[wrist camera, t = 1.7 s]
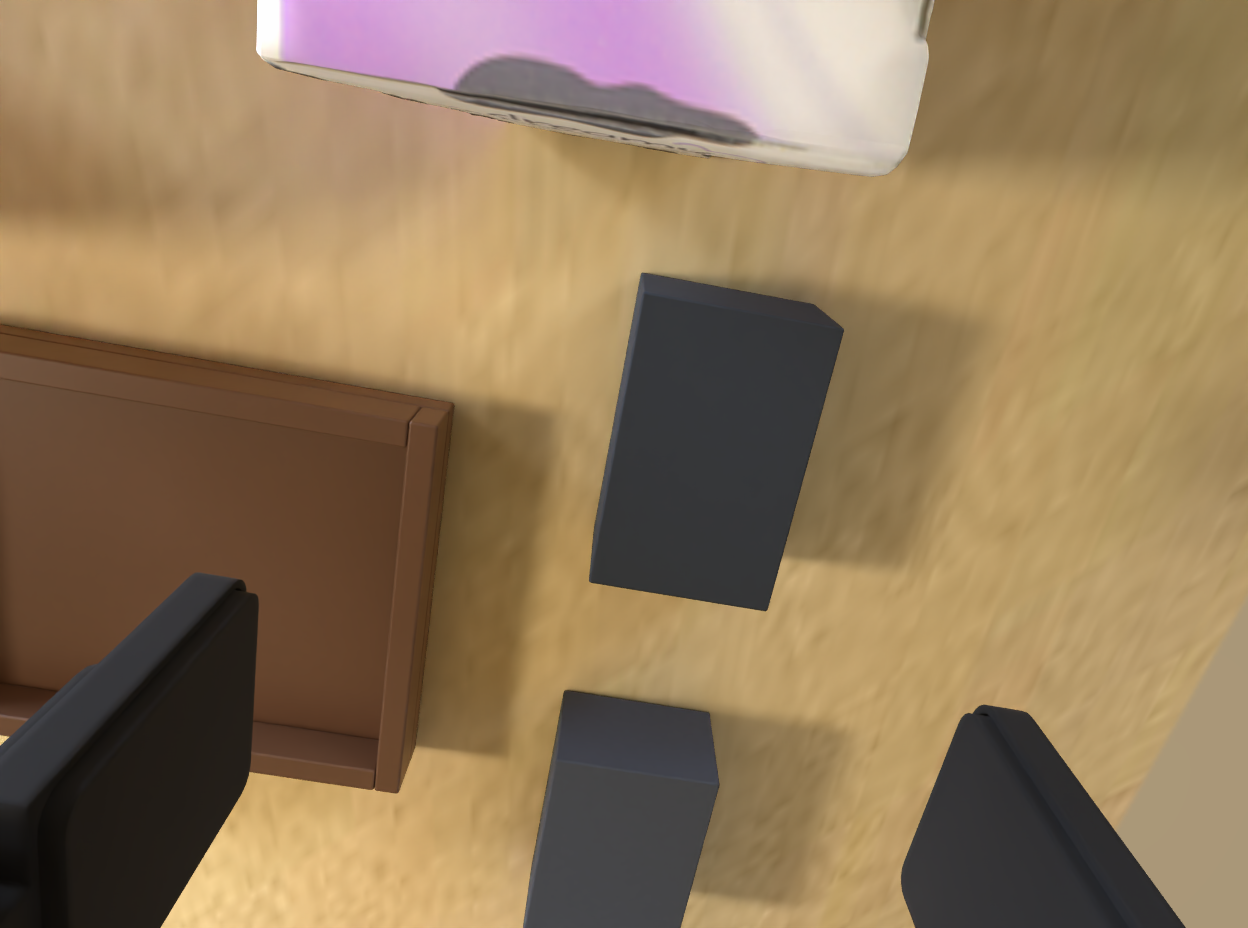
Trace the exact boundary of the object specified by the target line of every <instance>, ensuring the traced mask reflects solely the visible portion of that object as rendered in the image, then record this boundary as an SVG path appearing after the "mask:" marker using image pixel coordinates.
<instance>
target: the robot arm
mask: <svg viewBox="0 0 1248 928" xmlns="http://www.w3.org/2000/svg"><path fill="white" fill-rule="evenodd" d="M258 614H259V599H258V596H257V595H256V594H255V593H249V592H247V589H246V585H245V582H244V581H243V580H241V579H236V578H230V577H224V576H218V575H212V574H206V573H200V572H197V573H194V574H192V575H191V576H190V577H188V578H187V579H186V580H185V581H184V582H183V583H182V584H181V585H180V586H179V587H178V588H177V589H176V590H175V591H174V592H173V593H172V594H171V595H170V596H169V597H168V598H166V599H165V600H164V601H163V602H162V603H161V604H160V605H159V606H158V607H157V608H156V609H155V610H154V611H153V612H152V613H151V614H150V615H149V616H148V617H147V618H146V619H144V620H143V621H142V622H141V623H140V624H139V625H138V626H137V627H136V628H135V629H134V630H133V631H132V632H131V633H130V634H129V635H128V636H127V637H126V638H125V639H124V640H122V641H121V642H120V643H119V644H118V645H117V646H116V647H115V648H114V649H113V650H112V651H111V652H110V653H109V654H108V655H107V656H106V657H105V658H104V659H103V660H101V661H100V662H99V663H98V664H95V665H90V666H87V667H86V668H84V669H83V670H82V671H80V672H79V673H77V674H76V675H75V676H74V677H73V678H72V679H71V680H70V681H69V682H68V683H67V684H66V685H65V686H64V687H63V688H61V689H60V690H59V691H58V692H57V693H56V694H55V695H54V696H53V697H52V698H51V699H50V700H49V701H48V702H46V703H45V704H44V705H43V706H42V707H41V708H40V709H39V710H38V711H37V712H36V713H35V714H34V715H33V716H32V717H30V718H29V719H28V720H27V721H26V722H25V723H24V724H23V725H22V726H21V727H20V728H19V729H18V730H17V731H16V732H14V733H13V734H12V735H11V736H10V737H9V738H8V739H7V740H6V741H5V742H4V743H3V744H2V745H1V746H0V928H161V926H162V924H163V923H164V921H165V919H166V918H167V916H168V914H169V913H170V911H171V909H172V908H173V906H174V904H175V903H176V901H177V900H178V898H179V896H180V895H181V893H182V891H183V890H184V888H185V886H186V885H187V883H188V881H189V880H190V878H191V876H192V875H193V873H194V871H195V870H196V868H197V867H198V865H199V863H200V862H201V860H202V858H203V857H204V855H205V853H206V852H207V850H208V848H209V847H210V845H211V843H212V842H213V840H214V839H215V837H216V835H217V834H218V832H219V830H220V829H221V827H222V825H223V824H224V822H225V820H226V819H227V817H228V815H229V814H230V812H231V810H232V809H233V807H234V806H235V804H236V802H237V801H238V799H239V797H240V796H241V794H242V792H243V790H244V787H245V785H246V782H247V779H248V776H249V771H250V766H251V751H252V732H253V712H254V693H255V673H256V654H257V634H258ZM901 885H902V892H903V895H904V899H905V901H906V904H907V907H908V909H909V912H910V914H911V917H912V920H913V922H914V925H915V928H1185V926H1184V925H1183V923H1182V922H1181V921H1180V919H1179V918H1178V916H1177V915H1176V914H1175V912H1174V911H1173V910H1172V908H1171V907H1170V906H1169V904H1168V903H1167V901H1166V900H1165V899H1164V897H1163V896H1162V895H1161V893H1160V892H1159V890H1158V889H1157V888H1156V886H1155V885H1154V884H1153V882H1152V881H1151V879H1150V878H1149V877H1148V875H1147V874H1146V873H1145V871H1144V870H1143V869H1142V867H1141V866H1140V864H1139V863H1138V862H1137V860H1136V859H1135V858H1134V856H1133V855H1132V853H1131V852H1130V851H1129V849H1128V848H1127V847H1126V845H1125V844H1124V842H1123V841H1122V840H1121V838H1120V837H1119V836H1118V834H1117V833H1116V832H1115V830H1114V829H1113V827H1112V826H1111V825H1110V823H1109V822H1108V821H1107V819H1106V818H1105V816H1104V815H1103V814H1102V812H1101V811H1100V810H1099V808H1098V807H1097V805H1096V804H1095V803H1094V801H1093V800H1092V799H1091V797H1090V796H1089V795H1088V793H1087V792H1086V790H1085V789H1084V788H1083V786H1082V785H1081V784H1080V782H1079V781H1078V779H1077V778H1076V777H1075V775H1074V774H1073V773H1072V771H1071V770H1070V769H1069V767H1068V766H1067V764H1066V763H1065V762H1064V760H1063V759H1062V758H1061V756H1060V755H1059V753H1058V752H1057V751H1056V749H1055V748H1054V747H1053V745H1052V744H1051V742H1050V741H1049V740H1048V738H1047V737H1046V736H1045V734H1044V733H1043V732H1042V730H1041V729H1040V727H1039V726H1038V725H1037V723H1036V722H1035V721H1034V719H1033V718H1032V717H1031V716H1030V715H1029V714H1028V713H1026V712H1023V711H1019V710H1013V709H1007V708H1001V707H995V706H989V705H981V706H979V707H978V708H977V709H976V710H975V711H974V712H973V714H971V713H968V714H965V715H964V716H963V717H962V718H961V720H960V722H959V724H958V727H957V729H956V732H955V734H954V737H953V739H952V742H951V744H950V747H949V749H948V752H947V754H946V757H945V760H944V762H943V765H942V767H941V770H940V772H939V775H938V777H937V780H936V782H935V785H934V787H933V790H932V793H931V795H930V798H929V800H928V803H927V805H926V808H925V810H924V813H923V815H922V818H921V820H920V823H919V826H918V828H917V831H916V833H915V836H914V838H913V841H912V843H911V846H910V848H909V851H908V853H907V856H906V859H905V861H904V864H903V867H902V874H901Z"/></svg>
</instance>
